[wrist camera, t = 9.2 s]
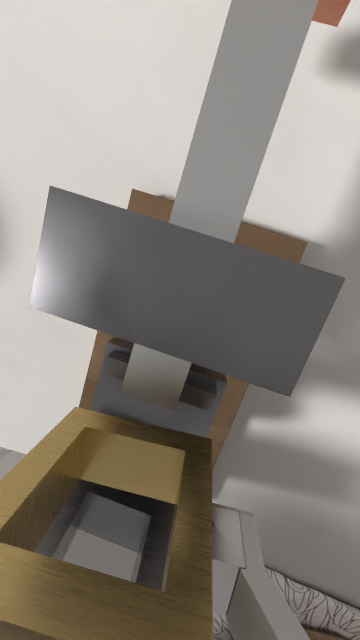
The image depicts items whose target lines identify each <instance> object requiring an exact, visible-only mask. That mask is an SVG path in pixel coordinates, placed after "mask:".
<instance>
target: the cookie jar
mask: <svg viewBox="0 0 360 640" xmlns="http://www.w3.org/2000/svg"><path fill="white" fill-rule="evenodd" d="M264 568H265V573H266V576H269V577H271V578H272V579H273V581H274V582H275V584H276V586H277V587H278V589H279V590H280V592H281V594H282V595H283V597H284V598H285V600H286V602H287V603H288V605H289V606H290V608H291V610H292V611H293V613H294V614H295V616H296V617H297V619H298V621H299V622H300V624H301V625H302V627H303V629H304V630H305V632H306V633H307V635H308V637H309V638H310V640H360V610H359V609H357V608H354V607H352V606H350V605H347V604H345V603H343V602H340V601H338V600H336V599H333V598H331V597H329V596H327V595H325V594H323V593H321V592H319V591H317V590H314V589H311V588H309V587H306V586H304V585H301V584H299V583H296V582H294V581H292V580H290V579H289V578H287V577H285V576H283V575H281V574H279V573H278V572H276V571H273V570H271V569H268V568H266V567H264ZM213 640H234V639H233V637H232V634H231V631H230V628H229V626H228V623H227V620H226V616H223V615H221V614H218V613H215V612H213Z"/></svg>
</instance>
